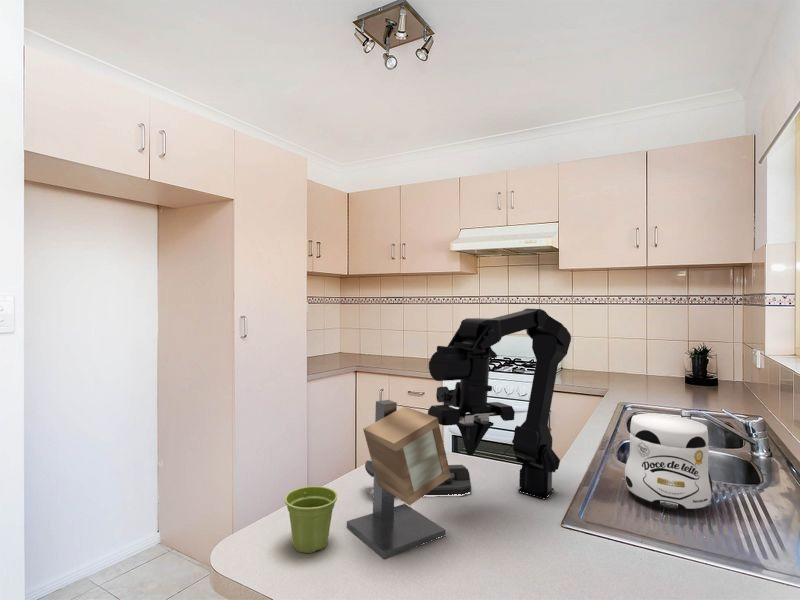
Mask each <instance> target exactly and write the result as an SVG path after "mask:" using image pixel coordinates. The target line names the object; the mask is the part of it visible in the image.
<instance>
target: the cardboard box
mask: <svg viewBox="0 0 800 600" xmlns="http://www.w3.org/2000/svg"><path fill="white" fill-rule="evenodd" d="M363 433H364V437H365V441H366V445H367V449H368V452H369V457H370V461H372V464H373V468H374V472H375V475H376V479H377V483H378V486H379V487H381V488H383V489H384V490H386V491H387V492H389V493H391V494H392V495H394V498H395V497H396V498H397V499H398V500H400V501H402V502H403V503H404V504H406V505H408V506H412V505H413V504H414V503H416V502H417V501H418V500H419V499H421V498H424V497H423V496H424V495H426V494H427V493H428V492H430V491H431V490H433V489H434V488H435V487H437V486H438V485H440V484H441V483H443V482H444V481H445V480H447V479H448V478H450V477H451V474H450V470H449V466H448V465H449V462H448V459H447V458H448V457H447V453H446V450H445V445H444V440H443V435H442V432H441V428H440V424H439V422H438V418H437V417H434V416H431V415H428V413H425V412H422V411H419V410H415V409H414V408H410V407H408V406H403V407H401V408H399V409H397V411H395V412H393V413H392V414H390V415H388V416H386V417H384V418H382V419H380V420H379V421H377V422H375V421H374V423H371V424H370V425H367V426H366V427H364V428H363Z"/></svg>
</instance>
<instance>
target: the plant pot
mask: <svg viewBox="0 0 800 600" xmlns="http://www.w3.org/2000/svg"><path fill="white" fill-rule="evenodd" d="M337 500H338V493H337V492H336V491H335V490H334V489H333V488H329V487H326V486H318V485H317V486H316V485H314V486H313V485H312V486H311V485H310V486H303V487H298V488H296V489H293V490H291V491H289V492H288V493H287V494H286V495H285V497H284V504H285V505H286V507H287V511H288V514H289V519H290V520H289V521H290V528H291V529H290V530H291V540H292V547H294V548H295V550H296V551H297V552H300V553H307V554H308V553H309V554H311V553H314V552H316V551H321V550H323V549H324V548H326V547H327V545H328V541H329V535H330V528H331V523H332V515H333V510H334V508H335V503H336V502H337Z"/></svg>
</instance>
